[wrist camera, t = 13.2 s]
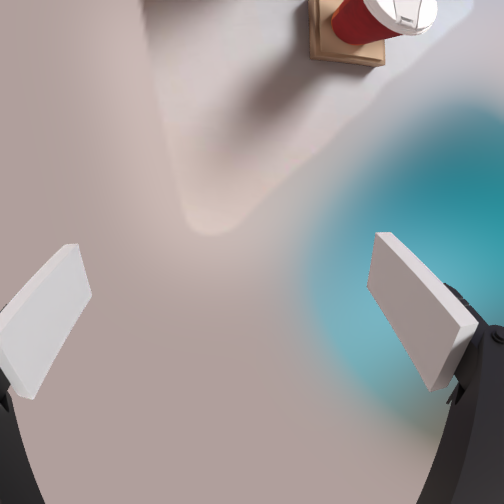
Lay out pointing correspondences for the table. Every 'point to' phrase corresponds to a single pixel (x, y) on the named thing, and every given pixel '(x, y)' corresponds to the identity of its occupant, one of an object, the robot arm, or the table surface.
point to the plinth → (330, 46)
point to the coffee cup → (381, 19)
